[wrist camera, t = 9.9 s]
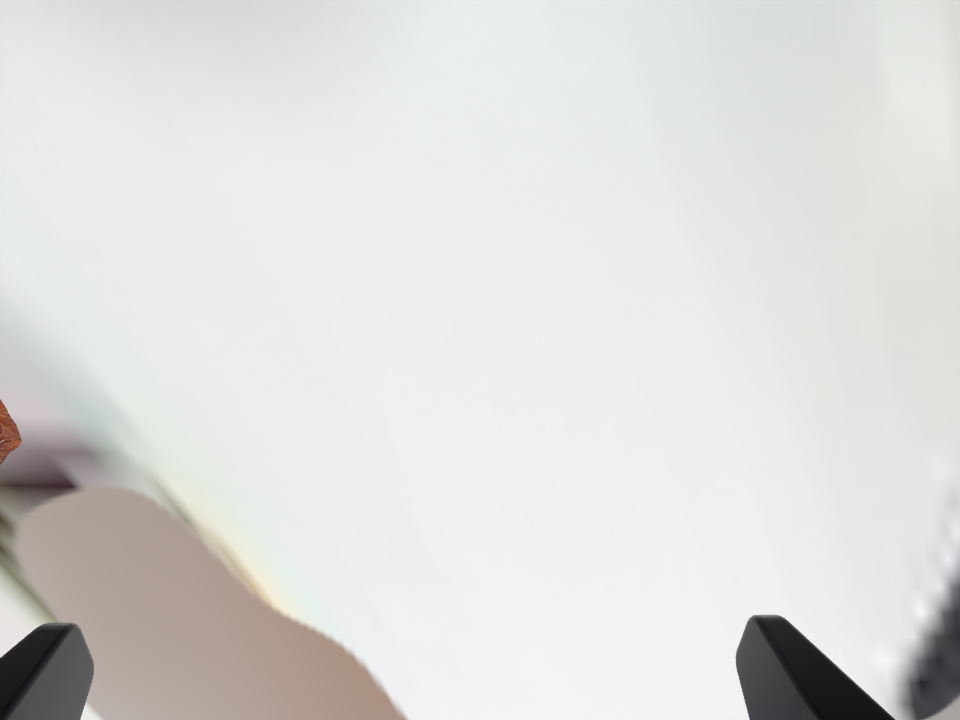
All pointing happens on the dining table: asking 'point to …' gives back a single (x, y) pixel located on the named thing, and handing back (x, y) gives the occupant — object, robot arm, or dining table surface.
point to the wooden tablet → (7, 433)
